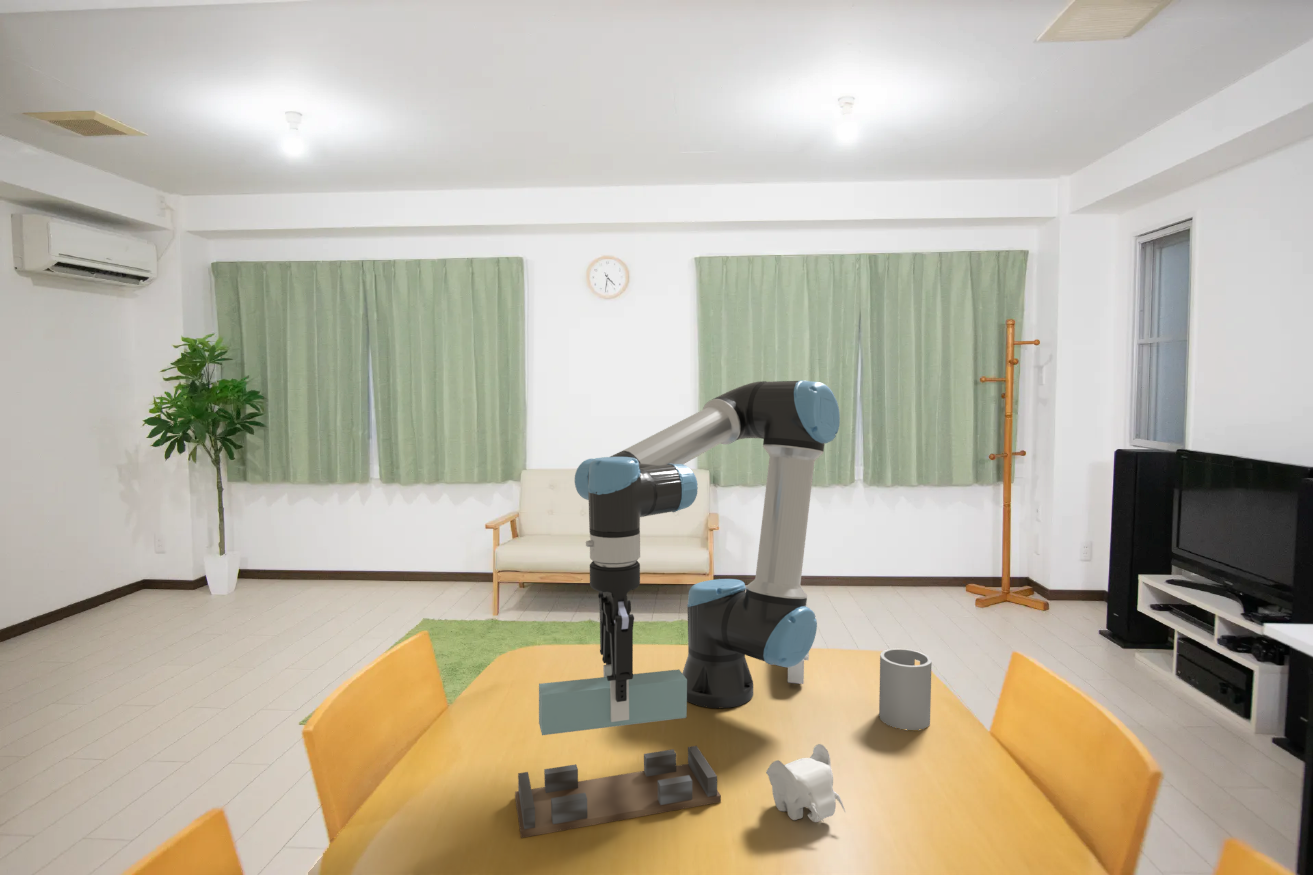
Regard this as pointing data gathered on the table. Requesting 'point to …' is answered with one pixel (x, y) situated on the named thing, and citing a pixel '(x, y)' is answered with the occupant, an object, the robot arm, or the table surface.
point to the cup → (905, 689)
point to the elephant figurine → (805, 786)
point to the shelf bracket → (797, 672)
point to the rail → (590, 702)
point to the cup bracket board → (614, 793)
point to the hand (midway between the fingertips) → (616, 712)
